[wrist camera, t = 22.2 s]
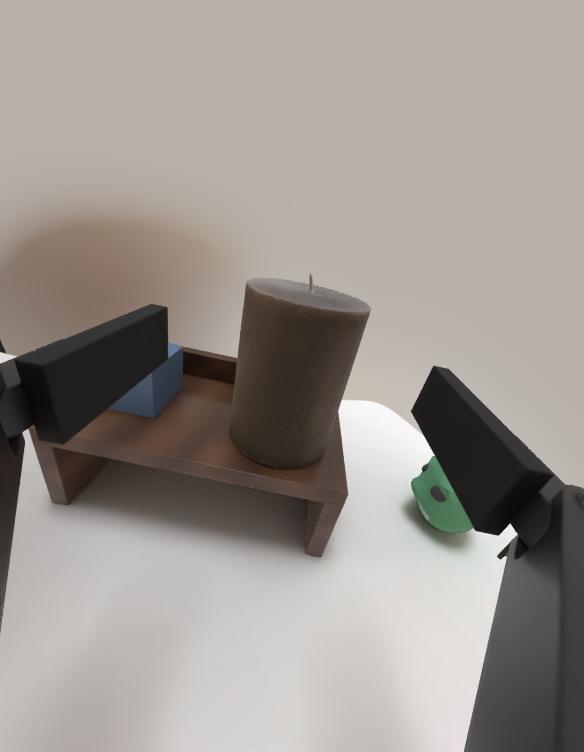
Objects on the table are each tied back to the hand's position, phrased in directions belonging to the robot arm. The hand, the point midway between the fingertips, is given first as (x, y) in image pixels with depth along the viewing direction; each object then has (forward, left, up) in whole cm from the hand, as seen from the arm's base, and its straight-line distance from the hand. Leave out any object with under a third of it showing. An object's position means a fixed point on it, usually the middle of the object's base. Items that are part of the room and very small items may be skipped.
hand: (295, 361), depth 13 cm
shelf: (-12, -1, -21) cm, 24 cm away
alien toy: (+1, +23, -21) cm, 31 cm away
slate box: (-16, -7, -12) cm, 21 cm away
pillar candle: (-8, +5, -12) cm, 15 cm away
